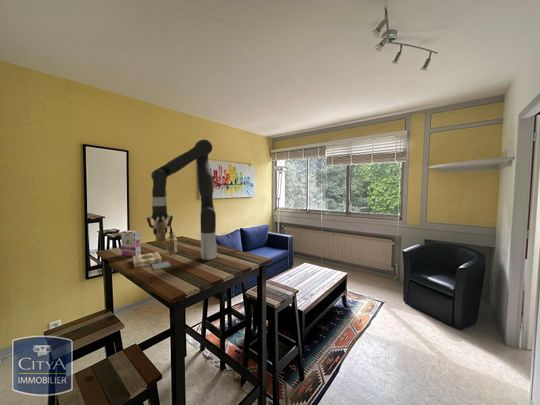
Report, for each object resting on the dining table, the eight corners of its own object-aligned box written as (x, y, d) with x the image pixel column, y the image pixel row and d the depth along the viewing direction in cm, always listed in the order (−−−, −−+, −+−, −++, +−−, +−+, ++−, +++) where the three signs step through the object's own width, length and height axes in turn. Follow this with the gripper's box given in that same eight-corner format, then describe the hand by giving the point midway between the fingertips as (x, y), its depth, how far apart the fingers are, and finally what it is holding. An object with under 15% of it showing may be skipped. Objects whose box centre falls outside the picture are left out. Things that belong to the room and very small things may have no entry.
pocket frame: (157, 256, 146) (157, 252, 146) (161, 263, 135) (161, 258, 135) (132, 260, 138) (132, 255, 138) (134, 267, 127) (134, 262, 127)
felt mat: (168, 262, 137) (168, 261, 137) (171, 266, 129) (171, 265, 129) (151, 265, 131) (151, 264, 131) (153, 270, 124) (153, 269, 124)
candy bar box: (141, 255, 149) (140, 231, 147) (135, 257, 144) (134, 232, 142) (127, 253, 151) (126, 229, 150) (121, 255, 147) (120, 231, 145)
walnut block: (164, 239, 132) (163, 220, 131) (165, 240, 128) (165, 222, 127) (155, 240, 130) (155, 221, 129) (156, 241, 126) (156, 222, 125)
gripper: (171, 203, 134) (172, 231, 136) (144, 204, 126) (145, 234, 128) (174, 204, 128) (174, 234, 130) (146, 206, 120) (147, 237, 121)
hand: (160, 233), depth 129 cm, fingers closed on walnut block, 4 cm apart
